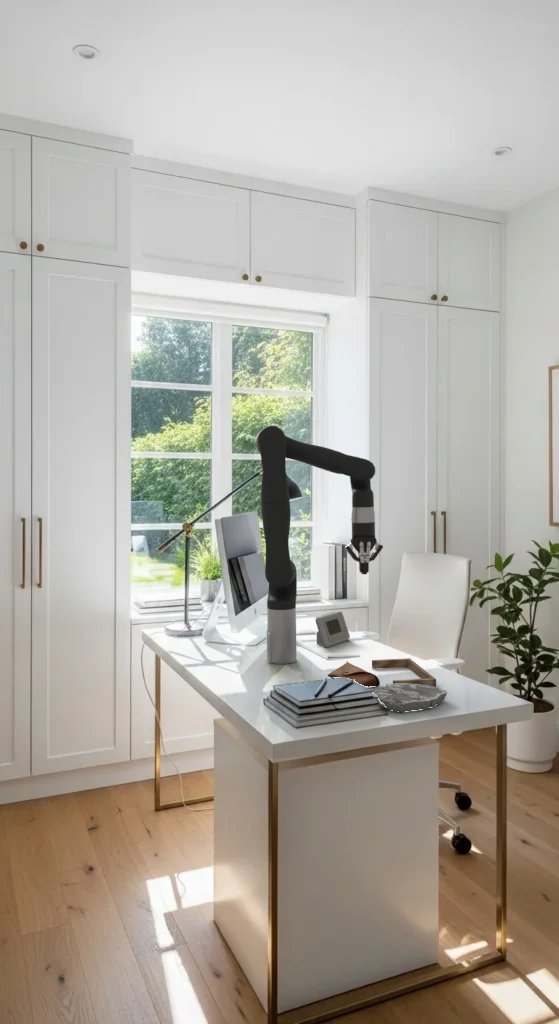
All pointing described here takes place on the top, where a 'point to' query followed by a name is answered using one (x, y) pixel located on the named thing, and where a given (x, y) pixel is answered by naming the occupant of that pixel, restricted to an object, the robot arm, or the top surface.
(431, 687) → the grey flat stone slab
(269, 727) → the top surface
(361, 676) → the sunglasses case
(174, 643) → the top surface
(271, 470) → the robot arm
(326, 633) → the digital clock
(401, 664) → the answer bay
